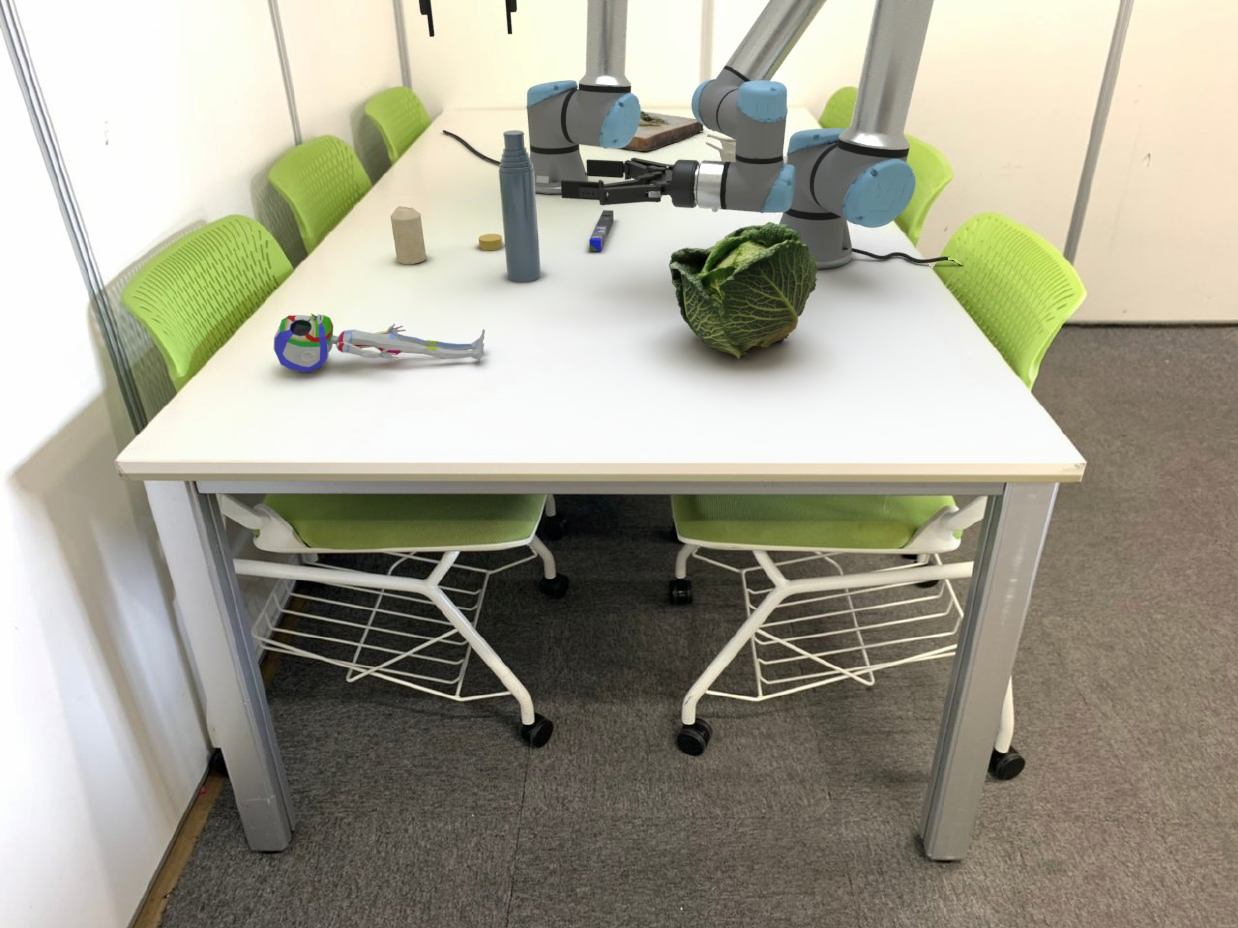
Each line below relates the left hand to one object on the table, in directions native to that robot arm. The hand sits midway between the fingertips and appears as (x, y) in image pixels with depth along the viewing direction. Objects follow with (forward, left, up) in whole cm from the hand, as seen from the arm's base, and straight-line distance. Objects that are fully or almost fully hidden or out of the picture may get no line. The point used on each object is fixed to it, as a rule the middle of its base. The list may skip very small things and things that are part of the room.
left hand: (471, 35), depth 158 cm
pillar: (+12, +19, -38) cm, 45 cm away
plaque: (-46, +89, -38) cm, 107 cm away
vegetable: (+65, -3, -38) cm, 75 cm away
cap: (0, 0, -37) cm, 37 cm away
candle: (-5, -15, -38) cm, 42 cm away
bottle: (+18, -6, -38) cm, 43 cm away
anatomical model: (+7, +78, -38) cm, 87 cm away
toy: (+30, -44, -38) cm, 66 cm away
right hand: (+27, -1, -20) cm, 34 cm away
